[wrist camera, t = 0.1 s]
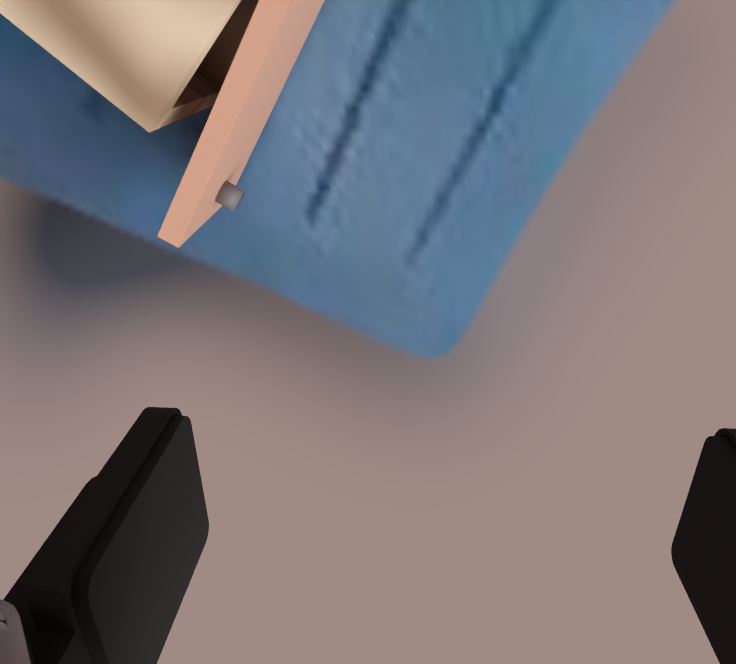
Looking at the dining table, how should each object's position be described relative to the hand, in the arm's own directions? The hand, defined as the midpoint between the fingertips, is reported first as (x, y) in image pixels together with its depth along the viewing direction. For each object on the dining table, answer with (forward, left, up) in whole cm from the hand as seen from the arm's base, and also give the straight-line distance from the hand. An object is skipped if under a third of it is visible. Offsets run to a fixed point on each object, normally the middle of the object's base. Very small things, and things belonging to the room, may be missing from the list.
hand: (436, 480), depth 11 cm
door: (+3, -9, -31) cm, 32 cm away
